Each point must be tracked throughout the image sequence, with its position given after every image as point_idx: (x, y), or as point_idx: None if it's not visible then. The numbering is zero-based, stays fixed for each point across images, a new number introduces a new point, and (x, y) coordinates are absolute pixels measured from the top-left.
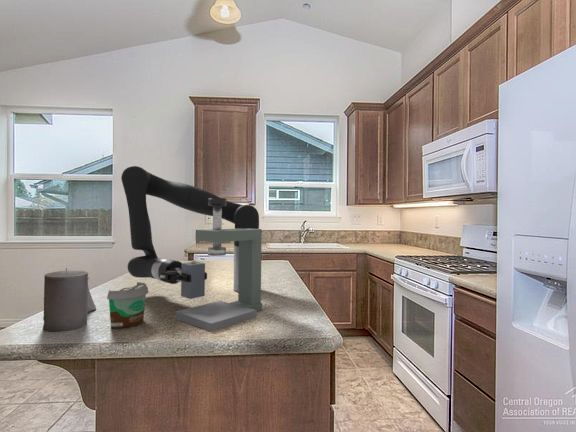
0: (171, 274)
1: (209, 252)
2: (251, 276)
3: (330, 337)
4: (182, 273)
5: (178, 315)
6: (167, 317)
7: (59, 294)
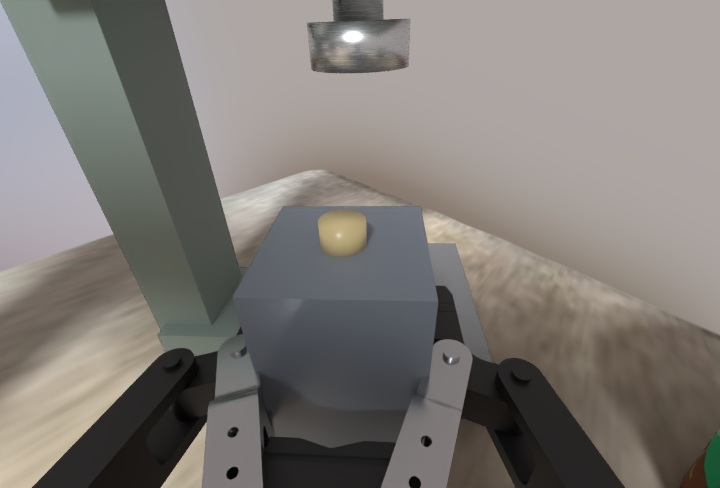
0: (549, 390)
1: (408, 47)
2: (213, 180)
3: (322, 170)
4: (439, 342)
5: None
6: None
7: None
